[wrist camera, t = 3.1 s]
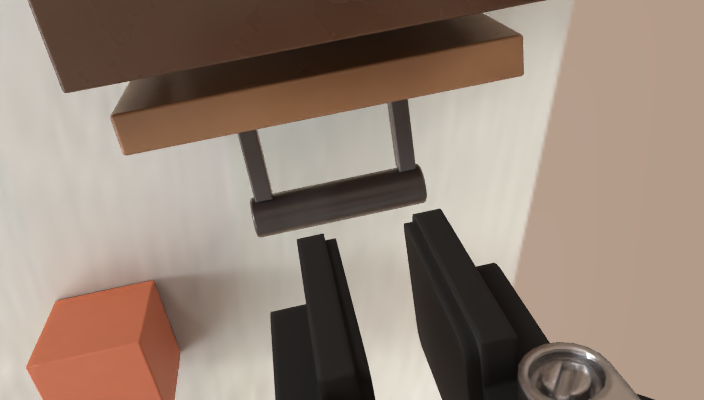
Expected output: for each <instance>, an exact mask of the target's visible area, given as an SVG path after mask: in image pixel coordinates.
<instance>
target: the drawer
mask: <svg viewBox="0 0 704 400" xmlns="http://www.w3.org/2000/svg"><path fill="white" fill-rule="evenodd" d="M523 74H524V63H523V36H522V35H521V34H519V33H518V32H516V31H514V30H512V29H510V28H509V27H507V26H505V25H503V24H501V23H500V22H498V21H496V20H494V19H492V18H490V17H489V16H487V15H485V14H483V13H478V14H473V15H467V16H462V17H457V18H452V19H447V20H442V21H436V22H431V23H426V24H421V25H416V26H411V27H406V28H400V29H395V30H390V31H385V32H380V33H375V34H369V35H364V36H359V37H354V38H349V39H344V40H339V41H333V42H328V43H323V44H318V45H313V46H308V47H302V48H297V49H292V50H287V51H282V52H277V53H271V54H266V55H261V56H256V57H251V58H246V59H241V60H235V61H230V62H225V63H220V64H215V65H210V66H204V67H199V68H194V69H189V70H184V71H179V72H174V73H168V74H163V75H158V76H153V77H148V78H143V79H137V80H132V81H130V82H129V84H128V86H127V88H126V89H125V91H124V93H123V95H122V97H121V98H120V100H119V102H118V104H117V105H116V107H115V109H114V111H113V112H112V114H111V117H110V119H111V122H112V124H113V127H114V130H115V133H116V136H117V138H118V141H119V144H120V147H121V150H122V152H123V154H124V155H131V154H136V153H141V152H146V151H151V150H156V149H161V148H166V147H171V146H176V145H181V144H186V143H191V142H196V141H201V140H206V139H211V138H216V137H221V136H226V135H231V134H236V133H238V136H239V140H240V144H241V148H242V152H243V156H244V160H245V164H246V167H247V171H248V175H249V179H250V183H251V187H252V191H253V195H254V198H252V199H251V201H250V206H251V213H252V218H253V222H254V226H255V230H256V233H257V235H258V237H265V236H270V235H274V234H279V233H284V232H289V231H293V230H298V229H303V228H307V227H312V226H317V225H321V224H326V223H331V222H336V221H340V220H345V219H350V218H354V217H359V216H364V215H368V214H373V213H378V212H383V211H387V210H392V209H397V208H401V207H406V206H411V205H415V204H420V203H424V202H425V201H426V198H427V192H426V185H425V180H424V176H423V173H422V170H421V168H420V166H419V165H418V164H415V157H414V149H413V140H412V132H411V123H410V115H409V107H408V99H409V98H414V97H419V96H424V95H429V94H434V93H439V92H444V91H449V90H454V89H459V88H464V87H469V86H474V85H479V84H484V83H489V82H494V81H499V80H504V79H509V78H514V77H518V76H522V75H523ZM384 103H388V110H389V118H390V125H391V133H392V140H393V148H394V155H395V162H396V166H397V168H394V169H389V170H384V171H379V172H375V173H370V174H365V175H360V176H355V177H351V178H346V179H341V180H336V181H331V182H327V183H322V184H317V185H312V186H307V187H303V188H298V189H293V190H288V191H283V192H279V193H274V194H272V189H271V185H270V181H269V176H268V172H267V168H266V164H265V160H264V156H263V152H262V147H261V143H260V139H259V135H258V131H257V129H260V128H265V127H270V126H275V125H280V124H285V123H290V122H295V121H300V120H305V119H310V118H315V117H320V116H325V115H330V114H335V113H340V112H345V111H350V110H355V109H360V108H365V107H370V106H375V105H380V104H384Z"/></svg>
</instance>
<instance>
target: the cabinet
mask: <svg viewBox="0 0 704 400" xmlns="http://www.w3.org/2000/svg"><path fill="white" fill-rule="evenodd" d="M540 1H545V0H28V3H29V5H30V8H31V10H32V13H33V16H34V18H35V21H36V23H37V26H38V28H39V31H40V34H41V36H42V39H43V41H44V44H45V47H46V49H47V52H48V54H49V57H50V59H51V62H52V65H53V67H54V70H55V72H56V75H57V78H58V80H59V83H60V85H61V88H62V90H63V92H64V93H70V92H76V91H81V90H86V89H91V88H96V87H101V86H106V85H112V84H117V83H122V82H127V81H132V80H137V79H143V78H148V77H153V76H158V75H163V74H168V73H174V72H179V71H184V70H189V69H194V68H199V67H204V66H210V65H215V64H220V63H225V62H230V61H235V60H241V59H246V58H251V57H256V56H261V55H266V54H271V53H277V52H282V51H287V50H292V49H297V48H302V47H308V46H313V45H318V44H323V43H328V42H333V41H339V40H344V39H349V38H354V37H359V36H364V35H369V34H375V33H380V32H385V31H390V30H395V29H400V28H406V27H411V26H416V25H421V24H426V23H431V22H436V21H442V20H447V19H452V18H457V17H462V16H467V15H473V14H478V13H483V12H488V11H493V10H498V9H504V8H509V7H514V6H519V5H524V4H529V3H534V2H540Z"/></svg>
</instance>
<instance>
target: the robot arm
mask: <svg viewBox="0 0 704 400" xmlns="http://www.w3.org/2000/svg"><path fill="white" fill-rule="evenodd" d="M412 220H413V222H410V223H405V224H404V232H405V239H406V247H407V254H408V262H409V269H410V276H411V284H412V291H413V299H414V306H415V314H416V321H417V328H418V334H419V338H420V342H421V345H422V348H423V351H424V353H425V356H426V358H427V361H428V364H429V366H430V369H431V371H432V374H433V377H434V379H435V382H436V384H437V387H438V390H439V392H440V395H441V398H442V400H653V399H651V398H648V397H645V396H642V395H639V394H636V393H635V392H634V391H633V390H632V388H631V387H630V386H629V385H628V383H627V382H626V381H625V380H624V379H623V378H622V376H621V375H620V374H619V373H618V372H617V370H616V369H615V368H614V367H613V365H612V364H611V363H610V362H609V361H607V359H606V358H604V357H603V356H602V355H601V354H600V353H598V352H596V351H594V350H592V349H590V348H588V347H585V346H582V345H578V344H575V343H564V342H556V343H549V341H548V340H547V338H546V337H545V335H544V334H543V332H542V331H541V329H540V328H539V326H538V324H537V323H536V321H535V320H534V318H533V317H532V316H531V314H530V313H529V311H528V309H527V308H526V306H525V305H524V303H523V302H522V300H521V299H520V297H519V296H518V294H517V293H516V291H515V290H514V288H513V287H512V285H511V284H510V282H509V281H508V279H507V278H506V276H505V275H504V273H503V272H502V270H501V269H500V267H499V266H498V265H497V264H495V263H491V264H486V265H482V266H477V267H475V265H474V263H473V262H472V260H471V258H470V257H469V255H468V253H467V252H466V250H465V248H464V247H463V245H462V243H461V242H460V240H459V238H458V237H457V235H456V233H455V232H454V230H453V228H452V227H451V225H450V223H449V222H448V220H447V218H446V217H445V215H444V213H443V212H442V210H441V209H436V210H431V211H427V212H422V213H417V214H413V219H412ZM297 245H298V251H299V258H300V265H301V272H302V278H303V285H304V292H305V299H306V304H305V305H300V306H296V307H291V308H287V309H282V310H278V311H273V312H271V334H272V350H273V366H274V383H275V399H276V400H375V396H374V390H373V385H372V380H371V375H370V371H369V366H368V362H367V358H366V354H365V350H364V346H363V342H362V338H361V335H360V331H359V327H358V323H357V319H356V315H355V311H354V307H353V304H352V300H351V296H350V292H349V288H348V284H347V280H346V276H345V273H344V269H343V265H342V261H341V257H340V253H339V249H338V245H337V242H336V238H335V239H330V240H326V241H325V238H324V234H319V235H314V236H310V237H305V238H300V239H297Z"/></svg>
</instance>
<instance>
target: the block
mask: <svg viewBox="0 0 704 400" xmlns="http://www.w3.org/2000/svg"><path fill="white" fill-rule="evenodd" d="M179 361H180V350H179V348H178V345H177V342H176V339H175V337H174V334H173V331H172V329H171V326H170V323H169V321H168V318H167V315H166V312H165V310H164V307H163V304H162V302H161V299H160V296H159V294H158V291H157V288H156V285H155V283H154V281H153V280H151V281H146V282H141V283H137V284H132V285H127V286H123V287H118V288H113V289H109V290H104V291H99V292H95V293H90V294H86V295H81V296H76V297H72V298H67V299H62V300H58V301H56V302H55V304H54V306H53V308H52V310H51V312H50V315H49V317H48V319H47V321H46V324H45V326H44V328H43V330H42V333H41V335H40V337H39V339H38V342H37V344H36V346H35V348H34V350H33V353H32V355H31V357H30V359H29V362H28V364H27V366H26V369H27V371H28V373H29V375H30V377H31V378H32V380H33V382H34V384H35V386H36V388H37V390H38V392H39V394H40V395H41V397H42V399H43V400H174V399H175V391H176V384H177V376H178V368H179Z"/></svg>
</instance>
